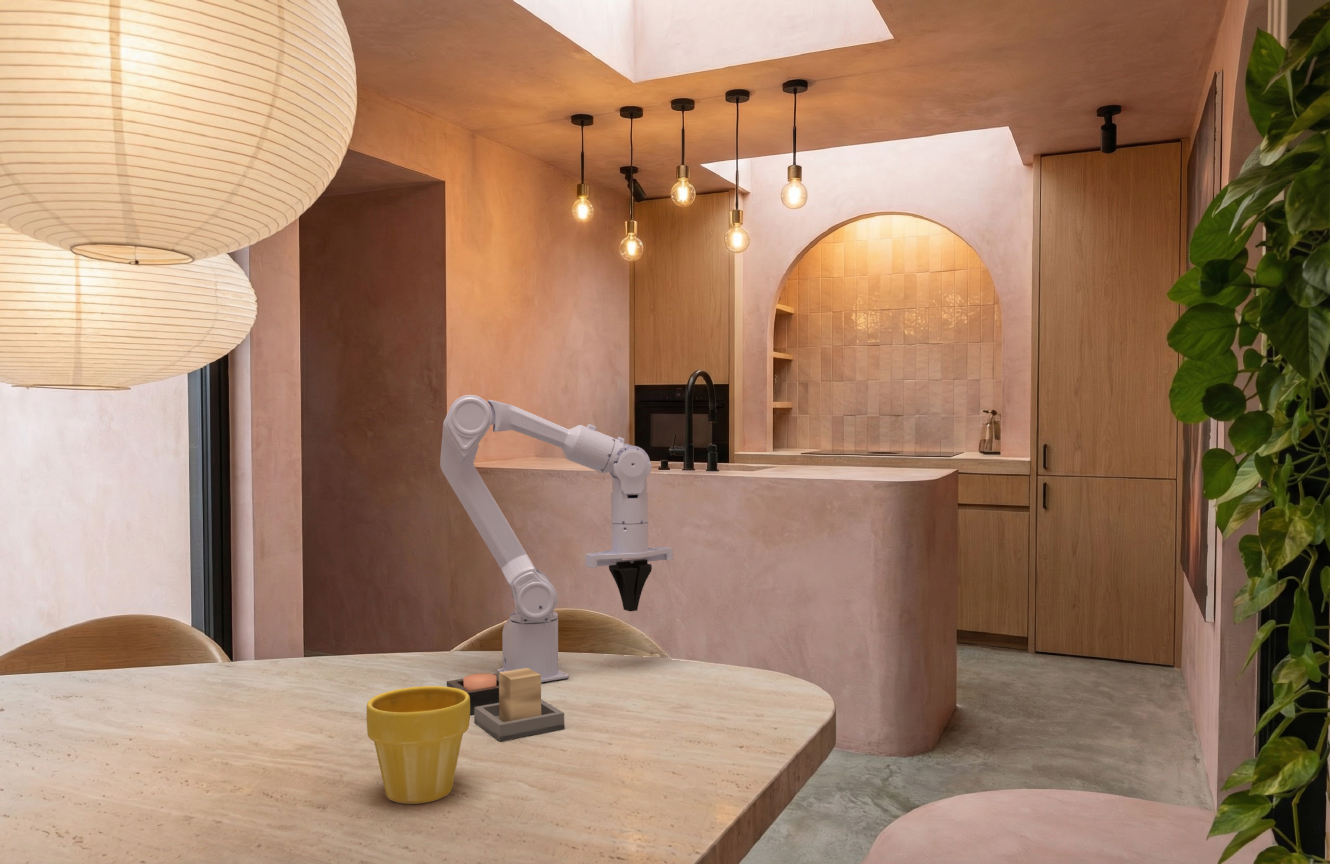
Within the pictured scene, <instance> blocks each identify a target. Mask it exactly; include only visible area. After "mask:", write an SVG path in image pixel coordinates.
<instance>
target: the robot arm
mask: <svg viewBox="0 0 1330 864" xmlns="http://www.w3.org/2000/svg"><path fill="white" fill-rule="evenodd" d="M492 425H493V426H492ZM491 426H492V427H493V428H492V432H494V433H498V432H507V431H513V432H517V433H520V434H523V435H525V436H528V437H531V438H534V439H536V440H540V441H542V442H545V443H548V444H550V445H553V446H556V447H557V448H560V449H562V452H563V454H564V457H565V458H566V460H567V461H570V462H572V463H575V464H578V465H580V466H582V467H585V468H589V469H591V470H593V471H596V472H597V473H598V472H599V473H601V474H605V475H606V474H608V473H609V475H610V476H611V492H610V505H611V506H610V510H611V511H610V516H611V517H610V519H611V520H610V523H611V524H610V527H611V528H610V529H611V534H610V535H611V537H610V538H611V541H610V542H611V549H610V550H603V551H598V552H589V553H585V557H584V558H585V559H584V560H585V567H587V568H591V569H593V568H598V567H605V566H606V567H607V566H608V570H609V572H610V573H611V576H612V578H613V579H614V581H615V584H616V586H617V588H618V592H619V595H620V599H621V603H622V608H623V611H626V612H635V611H638V609H639V603H640V598H641V595H642V592H643V589H644V586H645V583H646V581H647V580H648V578H649V576H650V574H651V572H652V569H653V567H652V564H651V563H648V562H655V561H656V562H657V561H673V559H674V556H673V555H674V553H673V552H674V551H673V550H674V549H673V547H668V546H657V547H656V546H655V547H652V546H651V547H649V492H648V477H649V475H650V473H651V471H652V469H653V464H652V462H651V460H650V456H649V455H648V453H647V452H646V451H645V449H643V448H642V447H640V446H637V445H632V444H629V443H625V438H623V437H620V436H618V437H617V438H616V437H615V438H614V437H613V436H610V435H608V434H604V432H600V431H597V426H595V425H593V424H590V423H589V424H587V425H586V426H584V425H582V424H578V425H576V426H574V427H572V428H566V427H564V426H562V425H559V424H557V423H555V422H553V421H550V420H547V419H545V418H544V417H540V416H539V415H536V414H534V413H531V412H529V411H527V410H524V409H522V408H520V407H517V406H515V405H512V404H509V403H504V402H500V401H498V400H492V399H488V400H487V401H486V399H484V398H482V397H480V396H479V395H474V394H466V395H462V396H460V397H457V399H455V400H454V401H453V402H452V403H451V405H450V407H449V410H448V411H447V414H446V417H445V418H444V420H443V424H442V438H441V446H440V450H441V451H440V459H439V460H440V463H439V467H440V469H441V472H442V473H443V476H444V477H445V478H446V480H447V482H448V484H449V485H450V487H451V488H452V490H453V492H454V493H455V495H456V497H457V499H458V500H459V502H460V504H461V505H462V507H463V508H464V510H465V512H466V513H467V515H468V517H469V519H470V520H471V523H473V525H474V527H475V529H476V530H477V532H478V534H479V535H480V537H481V539H482V540H483V543H484V544H485V545H486V547H487V548H488V550H489V552H490V553H491V555H492V557H493V559H494V560H495V562H496V563H497V565H498V567H499V569H500V570H501V572H502V573H503V576H504V578H505V580H506V581H507V584H508V586H510V587H509V588H511V592H510V593H511V597H512V599H513V601H514V607H515V608H514V609H513V611H512V612H511V613H510V614H509V618H508V619H507V620H506V622H505V623H504V625H503V627H502V628H503V629H502V633H501V634H502V638H501V639H502V640H501V641H502V667H500V668H497V669H496V672H497V673H498V674H499V672H505V671H512V670H518V669H524V668H529V669H531V670H533V671H535V672H537V673H539V674H540V675H541V683H546V682H551V681H552V682H553V681H557V680H562V679H563V680H564V679H568V678H569V677H570V675H569V673H567V672H565V671H563V670H560V669H559V618H558V616H559V613H557V612H556V611H555V609H556V608H557V604H558V594H557V593H558V592H557V590H556V589H555V587H554V585H553V584H552V581H551V580H550V578H549V577H548V576H547V574H546V573H544V572H543V571H541V570H539V569H538V568H537V567H536V566H535V565H534V563H533V561H532V560H531V558H530V557H529V555H528V553H527V552H526V550H525V548H524V547H523V545H522V543H521V542H520V540H519V539H518V536H517V535H516V533H515V532H514V530H513V528H512V527H511V525H510V523H509V522H508V520H507V519H506V516H505V514H504V513H503V512H502V510H501V508H500V507H499V505H498V502H496V500H495V498H494V496H493V495H492V493H491V491H490V490H489V488H488V486H487V484H486V482H485V481H484V480H483V478H482V476H481V474H480V473H479V471H478V470H477V468H476V466H475V464H474V462H475V460H476V456H477V453H478V450H479V447H480V446H479V445H480V443H481V441H482V439H483V438H484V437H485V436H486V434H487V432H488V431H489V430H490V428H491Z"/></svg>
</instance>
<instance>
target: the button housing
mask: <svg viewBox="0 0 1330 864" xmlns="http://www.w3.org/2000/svg"><path fill="white" fill-rule="evenodd" d="M493 674H494V675H496V686H493V687H487V688H481V689H475V690H467V689H466V688H464V678H459V679H452V680H447V681H446V687H451V688H457V689H460V690H463V691H465V692H467V693H468V695H469V697H470V716H473V715H474V707H478V706H484V705H489V704H495V703H499V674H496V673H493Z"/></svg>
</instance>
